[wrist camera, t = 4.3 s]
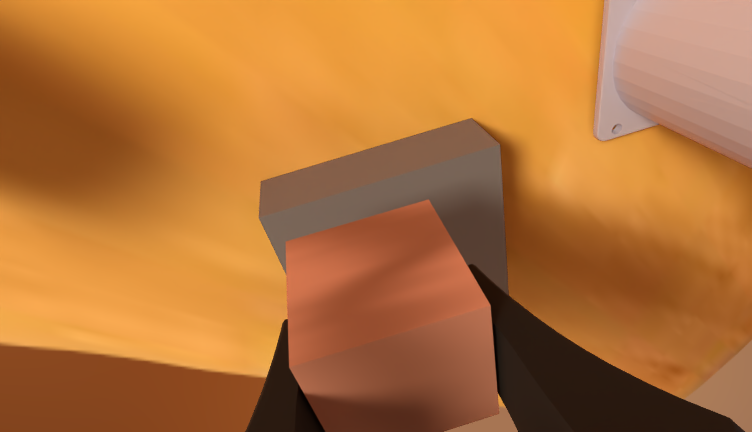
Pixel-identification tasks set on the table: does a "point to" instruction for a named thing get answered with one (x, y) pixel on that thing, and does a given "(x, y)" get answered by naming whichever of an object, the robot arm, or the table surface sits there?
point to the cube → (389, 326)
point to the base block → (401, 192)
